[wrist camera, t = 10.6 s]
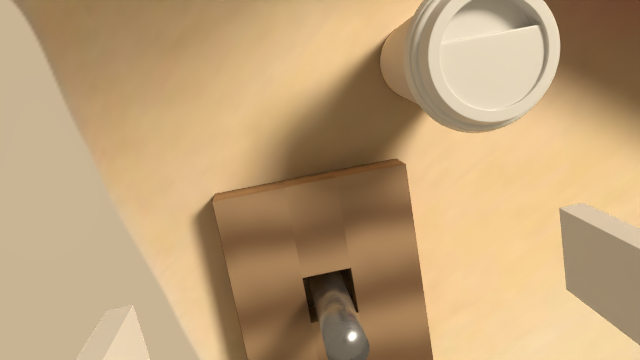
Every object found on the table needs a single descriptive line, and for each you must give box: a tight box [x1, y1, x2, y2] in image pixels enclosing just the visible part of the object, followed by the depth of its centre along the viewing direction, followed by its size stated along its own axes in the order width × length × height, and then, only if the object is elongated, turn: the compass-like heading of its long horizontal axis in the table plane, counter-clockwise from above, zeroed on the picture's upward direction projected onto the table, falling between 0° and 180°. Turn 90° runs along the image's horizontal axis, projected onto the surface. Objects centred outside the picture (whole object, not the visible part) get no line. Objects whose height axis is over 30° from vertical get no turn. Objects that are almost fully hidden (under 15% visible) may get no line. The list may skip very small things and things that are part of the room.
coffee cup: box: [380, 0, 560, 133], centre depth 37 cm, size 10×10×15 cm
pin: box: [310, 271, 370, 360], centre depth 41 cm, size 3×3×12 cm
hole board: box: [212, 159, 433, 360], centre depth 46 cm, size 20×16×3 cm
